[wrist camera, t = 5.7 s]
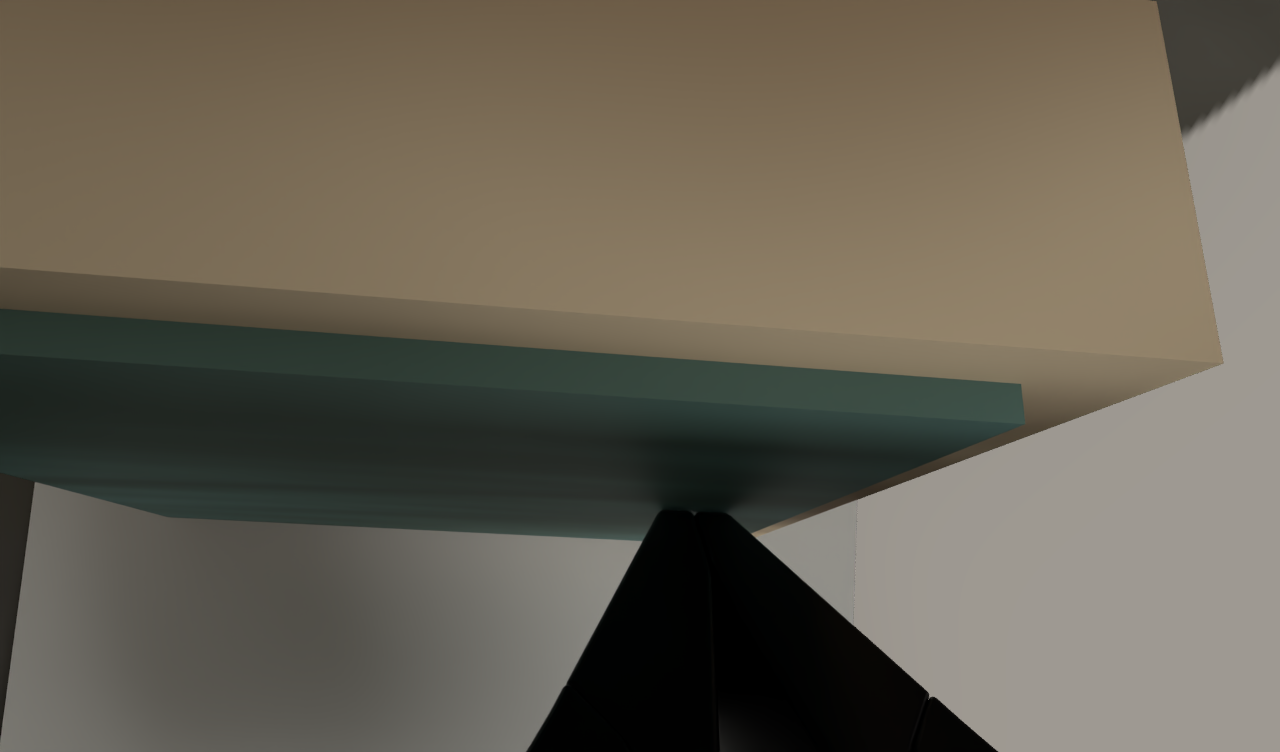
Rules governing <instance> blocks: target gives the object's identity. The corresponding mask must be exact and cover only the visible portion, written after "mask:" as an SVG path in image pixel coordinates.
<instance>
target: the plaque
mask: <svg viewBox="0 0 1280 752" xmlns="http://www.w3.org/2000/svg"><path fill="white" fill-rule="evenodd" d="M1220 364H1223V357H1222V352H1221V347H1220V341H1219V336H1218V331H1217V325H1216V320H1215V315H1214V309H1213V303H1212V298H1211V293H1210V287H1209V282H1208V277H1207V271H1206V266H1205V260H1204V256H1203V250H1202V245H1201V239H1200V233H1199V228H1198V222H1197V217H1196V212H1195V206H1194V201H1193V196H1192V190H1191V185H1190V179H1189V174H1188V169H1187V163H1186V158H1185V152H1184V147H1183V142H1182V136H1181V131H1180V125H1179V120H1178V115H1177V109H1176V104H1175V98H1174V93H1173V88H1172V82H1171V77H1170V71H1169V66H1168V61H1167V55H1166V50H1165V44H1164V39H1163V34H1162V28H1161V23H1160V17H1159V12H1158V7H1157V1H1149V0H0V473H4V474H7V475H11V476H15V477H19V478H22V479H26V480H30V481H34V482H37V483H41V484H45V485H49V486H52V487H56V488H60V489H64V490H67V491H71V492H75V493H79V494H82V495H86V496H90V497H94V498H97V499H101V500H105V501H109V502H112V503H116V504H120V505H124V506H127V507H131V508H135V509H139V510H142V511H146V512H150V513H154V514H157V515H161V516H165V517H171V518H191V519H211V520H231V521H251V522H271V523H291V524H311V525H331V526H351V527H371V528H391V529H411V530H430V531H450V532H470V533H490V534H510V535H530V536H550V537H570V538H590V539H610V540H630V541H643V539H644V537H645V536H646V534H647V532H648V530H649V528H650V526H651V524H652V523H653V521H654V519H655V517H656V515H657V514H658V513H659V511H661V510H671V511H688V512H691V513H692V514H693V516H695V514H696V513H698V512H712V513H726V514H728V515H730V516H732V517H733V518H734V519H735V520H736V521H737V522H739V523H740V524H741V525H742V526H743V527H744V528H745V529H746V530H748V531H749V532H750V533H751V534H752V535H753V536H754V537H755V538H756V537H758V536H761V535H764V534H766V533H769V532H772V531H774V530H777V529H780V528H782V527H785V526H788V525H791V524H793V523H796V522H799V521H801V520H804V519H807V518H809V517H812V516H815V515H817V514H820V513H823V512H825V511H828V510H831V509H834V508H836V507H839V506H842V505H844V504H847V503H850V502H852V501H855V500H858V499H860V498H863V497H866V496H868V495H871V494H874V493H877V492H879V491H882V490H885V489H887V488H890V487H893V486H895V485H898V484H901V483H903V482H906V481H909V480H912V479H914V478H917V477H920V476H922V475H925V474H928V473H930V472H933V471H936V470H938V469H941V468H944V467H946V466H949V465H952V464H954V463H957V462H960V461H962V460H965V459H968V458H970V457H973V456H976V455H979V454H981V453H984V452H987V451H989V450H992V449H995V448H998V447H1000V446H1003V445H1006V444H1008V443H1011V442H1014V441H1016V440H1019V439H1022V438H1024V437H1027V436H1030V435H1032V434H1035V433H1038V432H1041V431H1043V430H1046V429H1048V428H1051V427H1054V426H1057V425H1059V424H1062V423H1065V422H1067V421H1070V420H1073V419H1075V418H1078V417H1081V416H1084V415H1086V414H1089V413H1091V412H1094V411H1097V410H1100V409H1102V408H1105V407H1108V406H1110V405H1113V404H1116V403H1119V402H1121V401H1124V400H1127V399H1129V398H1132V397H1135V396H1137V395H1140V394H1143V393H1145V392H1148V391H1151V390H1153V389H1156V388H1159V387H1162V386H1164V385H1167V384H1170V383H1172V382H1175V381H1178V380H1180V379H1183V378H1186V377H1188V376H1191V375H1194V374H1196V373H1199V372H1202V371H1204V370H1207V369H1210V368H1213V367H1215V366H1218V365H1220Z"/></svg>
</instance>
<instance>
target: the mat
mask: <svg viewBox="0 0 1280 752" xmlns="http://www.w3.org/2000/svg"><path fill="white" fill-rule="evenodd" d="M856 527H857V500H855V501H852V502H850V503H847V504H844V505H842V506H839V507H836V508H834V509H831V510H828V511H825V512H823V513H820V514H817V515H815V516H812V517H809V518H807V519H804V520H801V521H799V522H796V523H793V524H791V525H788V526H785V527H782V528H780V529H777V530H774V531H772V532H769V533H766V534H764V535H761V536H758V537H756V539H758V540H759V541H760V542H761V543H762V544H763V545H764V546H765V547H766V548H768V549H769V550H770V551H771V552H772V553H773V554H774V555H775V556H777V557H778V558H779V559H780V560H781V561H782V562H783V563H784V564H785V565H787V566H788V567H789V568H790V569H791V570H792V571H793V572H794V573H796V574H797V575H798V576H799V577H800V578H801V579H802V580H803V581H804V582H806V583H807V584H808V585H809V586H810V587H811V588H812V589H813V590H814V591H816V592H817V593H818V594H819V595H820V596H821V597H822V598H823V599H825V600H826V601H827V602H828V603H829V604H830V605H831V606H832V607H833V608H835V609H836V610H837V611H838V612H839V613H840V614H841V615H842V616H844V617H845V618H846V619H847V620H848V621H849V622H850V623H851V624H852V625H853V619H854V588H855V559H856V557H855V556H856V529H857V528H856ZM641 543H642V541H630V540H610V539H590V538H570V537H550V536H530V535H510V534H490V533H470V532H450V531H430V530H411V529H391V528H371V527H351V526H331V525H311V524H291V523H271V522H251V521H231V520H211V519H191V518H171V517H165V516H161V515H157V514H154V513H150V512H146V511H142V510H139V509H135V508H131V507H127V506H124V505H120V504H116V503H112V502H109V501H105V500H101V499H97V498H94V497H90V496H86V495H82V494H79V493H75V492H71V491H67V490H64V489H60V488H56V487H52V486H49V485H45V484H41V483H37V482H35V486H34V493H33V501H32V508H31V516H30V523H29V531H28V538H27V545H26V553H25V560H24V568H23V575H22V583H21V590H20V598H19V605H18V612H17V620H16V627H15V635H14V642H13V650H12V657H11V664H10V672H9V679H8V687H7V694H6V702H5V709H4V717H3V724H2V731H1V739H0V752H526V751H527V749H528V748H529V746H530V744H531V743H532V741H533V739H534V738H535V736H536V734H537V732H538V731H539V729H540V727H541V726H542V724H543V722H544V721H545V719H546V717H547V716H548V714H549V712H550V710H551V709H552V707H553V705H554V703H555V701H556V699H557V698H558V696H559V694H560V692H561V690H562V688H563V687H564V686H565V685H566V683H567V681H568V679H569V677H570V675H571V673H572V671H573V670H574V668H575V666H576V664H577V662H578V660H579V658H580V657H581V655H582V653H583V651H584V649H585V647H586V645H587V644H588V642H589V640H590V638H591V636H592V634H593V632H594V631H595V629H596V627H597V625H598V623H599V621H600V619H601V617H602V616H603V614H604V612H605V610H606V608H607V606H608V604H609V603H610V601H611V599H612V597H613V595H614V593H615V591H616V590H617V588H618V586H619V584H620V582H621V580H622V578H623V577H624V575H625V573H626V571H627V569H628V567H629V565H630V564H631V562H632V560H633V558H634V556H635V554H636V552H637V550H638V549H639V547H640V545H641Z"/></svg>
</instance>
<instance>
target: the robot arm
mask: <svg viewBox="0 0 1280 752" xmlns="http://www.w3.org/2000/svg"><path fill="white" fill-rule="evenodd" d="M928 699H929V700H928ZM526 752H998V751H996V750H995V749H994V748H993V747H992V746H991V745H989V744H988V743H987V742H986V741H985V740H984V739H982V738H981V737H980V736H979V735H978V734H977V733H975V732H974V731H973V730H972V729H971V728H970V727H968V726H967V725H966V724H965V723H964V722H963V721H961V720H960V719H959V718H958V717H957V716H956V715H955V714H954V713H952V712H951V711H950V710H949V709H948V708H947V707H946V706H945V705H943V704H942V703H941V702H940V701H939V700H938V699H937V698H935V697H930V698H929V693H928V692H927V691H926V690H925V689H924V688H923V687H922V686H921V685H919V684H918V683H917V682H916V681H915V680H914V679H913V678H911V677H910V676H909V675H908V674H907V673H906V672H905V671H904V670H903V669H902V668H900V667H899V666H898V665H897V664H896V663H895V662H894V661H893V660H891V659H890V658H889V657H888V656H887V655H886V654H885V653H884V652H883V651H881V650H880V649H879V648H878V647H877V646H876V645H875V644H873V642H871V641H870V640H869V639H868V638H867V637H866V636H865V635H863V634H862V633H861V632H860V631H859V630H858V629H857V628H856V627H854V626H853V625H852V624H851V623H850V622H849V621H848V620H847V619H846V618H845V617H844V616H842V615H841V614H840V613H839V612H838V611H837V610H836V609H835V608H833V607H832V606H831V605H830V604H829V603H828V602H827V601H826V600H825V599H823V598H822V597H821V596H820V595H819V594H818V593H817V592H816V591H814V590H813V589H812V588H811V587H810V586H809V585H808V584H807V583H806V582H804V581H803V580H802V579H801V578H800V577H799V576H798V575H797V574H796V573H794V572H793V571H792V570H791V569H790V568H789V567H788V566H787V565H785V564H784V563H783V562H782V561H781V560H780V559H779V558H778V557H777V556H775V555H774V554H773V553H772V552H771V551H770V550H769V549H768V548H766V547H765V546H764V545H763V544H762V543H761V542H760V541H759V540H758V539H756V538H755V537H754V536H753V535H752V534H751V533H750V532H749V531H748V530H746V529H745V528H744V527H743V526H742V525H741V524H740V523H739V522H737V521H736V520H735V519H734V518H733V517H732V516H730V515H728V514H726V513H712V512H698V513H696V514H695V516H693V514H692V513H691V512H688V511H671V510H661V511H659V513H658V514H657V515H656V517H655V519H654V521H653V523H652V524H651V526H650V528H649V530H648V532H647V534H646V536H645V537H644V539H643V541H642V543H641V545H640V547H639V549H638V550H637V552H636V554H635V556H634V558H633V560H632V562H631V564H630V565H629V567H628V569H627V571H626V573H625V575H624V577H623V578H622V580H621V582H620V584H619V586H618V588H617V590H616V591H615V593H614V595H613V597H612V599H611V601H610V603H609V604H608V606H607V608H606V610H605V612H604V614H603V616H602V617H601V619H600V621H599V623H598V625H597V627H596V629H595V631H594V632H593V634H592V636H591V638H590V640H589V642H588V644H587V645H586V647H585V649H584V651H583V653H582V655H581V657H580V658H579V660H578V662H577V664H576V666H575V668H574V670H573V671H572V673H571V675H570V677H569V679H568V681H567V683H566V685H565V686H564V687H563V688H562V690H561V692H560V694H559V696H558V698H557V699H556V701H555V703H554V705H553V707H552V709H551V710H550V712H549V714H548V716H547V717H546V719H545V721H544V722H543V724H542V726H541V727H540V729H539V731H538V732H537V734H536V736H535V738H534V739H533V741H532V743H531V744H530V746H529V748H528V749H527V751H526Z"/></svg>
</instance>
